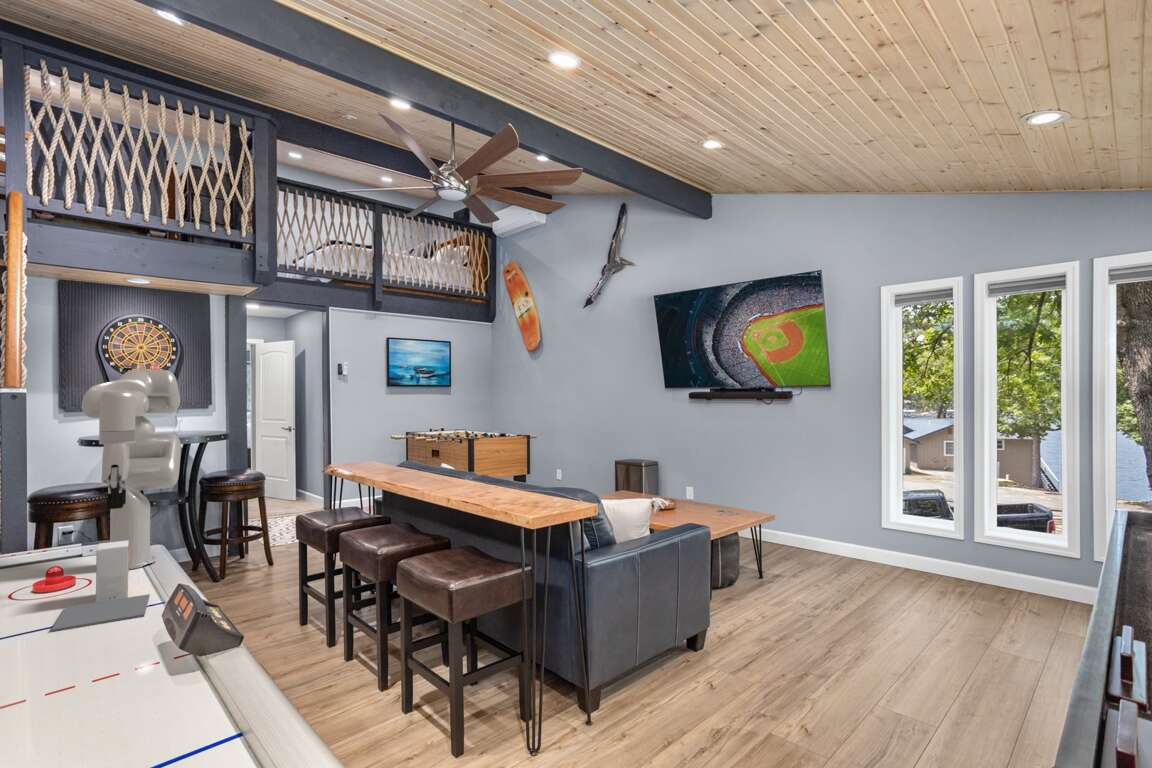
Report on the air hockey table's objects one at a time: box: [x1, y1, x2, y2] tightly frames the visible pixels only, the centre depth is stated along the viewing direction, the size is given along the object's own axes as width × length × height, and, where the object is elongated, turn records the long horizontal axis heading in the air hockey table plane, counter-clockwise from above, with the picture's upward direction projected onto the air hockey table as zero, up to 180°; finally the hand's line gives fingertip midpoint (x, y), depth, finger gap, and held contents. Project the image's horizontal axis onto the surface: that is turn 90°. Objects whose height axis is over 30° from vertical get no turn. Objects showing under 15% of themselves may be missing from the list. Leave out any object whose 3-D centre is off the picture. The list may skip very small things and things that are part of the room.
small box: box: [95, 540, 129, 602], centre depth 146 cm, size 8×6×13 cm
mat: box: [50, 594, 151, 633], centre depth 135 cm, size 16×16×1 cm
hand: (116, 505), depth 153 cm, fingers open, 5 cm apart
